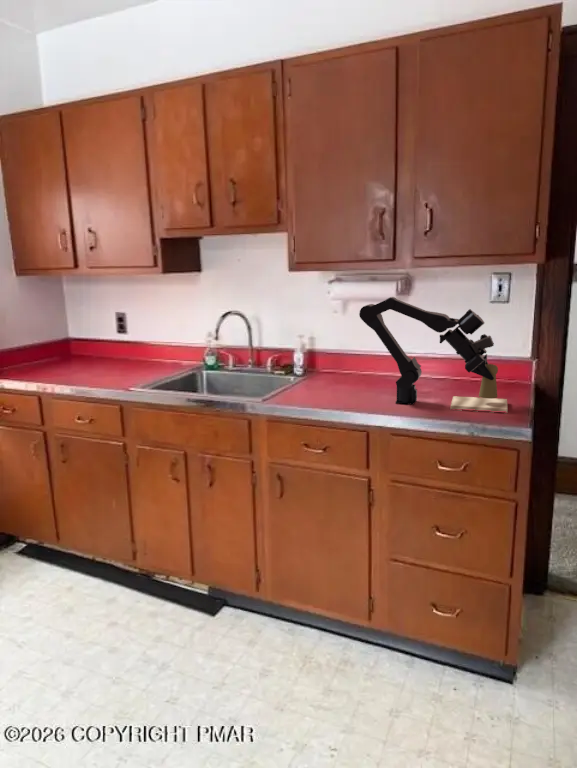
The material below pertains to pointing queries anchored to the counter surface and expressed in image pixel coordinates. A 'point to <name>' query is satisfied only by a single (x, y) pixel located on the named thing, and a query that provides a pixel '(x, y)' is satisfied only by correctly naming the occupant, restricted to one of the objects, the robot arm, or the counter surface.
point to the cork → (489, 384)
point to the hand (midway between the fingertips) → (493, 377)
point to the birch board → (479, 403)
